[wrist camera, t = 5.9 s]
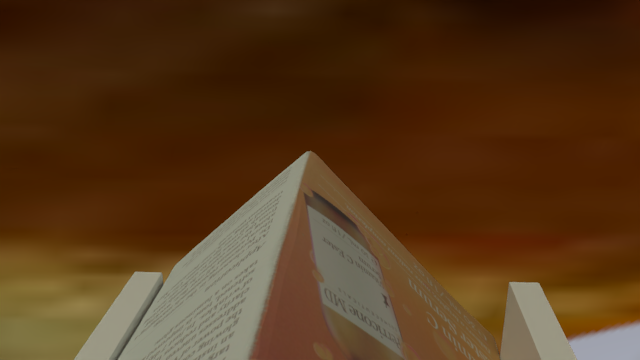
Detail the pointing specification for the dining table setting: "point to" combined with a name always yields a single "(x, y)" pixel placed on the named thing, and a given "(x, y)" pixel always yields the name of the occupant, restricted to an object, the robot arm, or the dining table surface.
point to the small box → (305, 287)
